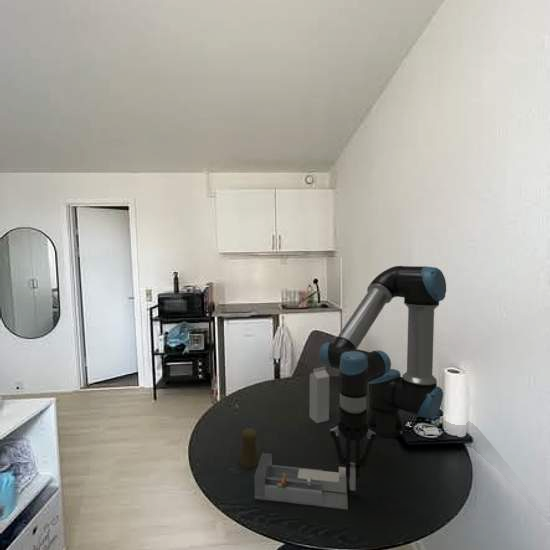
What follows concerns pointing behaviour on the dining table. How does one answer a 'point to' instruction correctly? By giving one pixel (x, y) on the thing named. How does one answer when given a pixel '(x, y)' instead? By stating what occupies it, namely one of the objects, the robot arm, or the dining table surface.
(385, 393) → the robot arm
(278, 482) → the brown l-shaped block
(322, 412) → the milk
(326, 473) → the plunger
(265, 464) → the gauge housing
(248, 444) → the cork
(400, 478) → the dining table surface
